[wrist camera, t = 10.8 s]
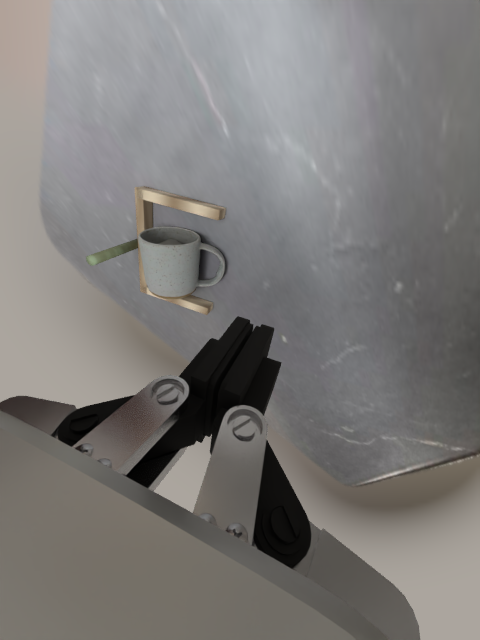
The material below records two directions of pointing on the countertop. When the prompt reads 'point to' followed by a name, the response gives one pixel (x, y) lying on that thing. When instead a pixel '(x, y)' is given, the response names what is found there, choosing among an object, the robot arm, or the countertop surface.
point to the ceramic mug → (174, 261)
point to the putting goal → (145, 221)
